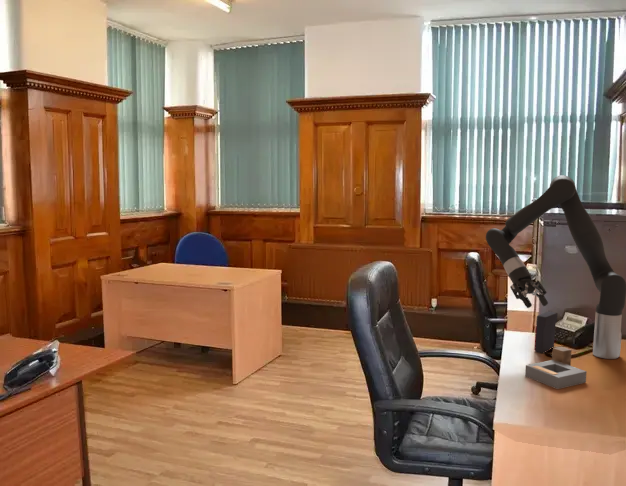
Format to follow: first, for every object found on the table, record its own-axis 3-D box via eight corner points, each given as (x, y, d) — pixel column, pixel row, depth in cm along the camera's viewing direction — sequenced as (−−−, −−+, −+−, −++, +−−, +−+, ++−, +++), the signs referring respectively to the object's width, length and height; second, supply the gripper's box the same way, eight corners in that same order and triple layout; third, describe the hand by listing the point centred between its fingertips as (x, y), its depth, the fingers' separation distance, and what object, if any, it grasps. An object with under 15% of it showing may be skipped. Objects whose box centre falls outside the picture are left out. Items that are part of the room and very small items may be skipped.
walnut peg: (560, 367, 225) (561, 346, 224) (570, 370, 221) (571, 349, 220) (551, 369, 223) (552, 348, 222) (561, 372, 219) (562, 351, 218)
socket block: (552, 370, 221) (553, 359, 221) (585, 382, 209) (586, 370, 208) (525, 376, 215) (525, 364, 214) (557, 389, 202) (558, 377, 202)
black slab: (545, 346, 251) (547, 310, 249) (555, 348, 248) (557, 312, 246) (533, 351, 243) (535, 315, 242) (543, 354, 240) (545, 317, 238)
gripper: (509, 266, 232) (530, 302, 224) (535, 264, 239) (557, 299, 230) (498, 277, 237) (518, 313, 229) (524, 275, 244) (545, 309, 236)
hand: (538, 306), depth 230 cm, fingers open, 8 cm apart
